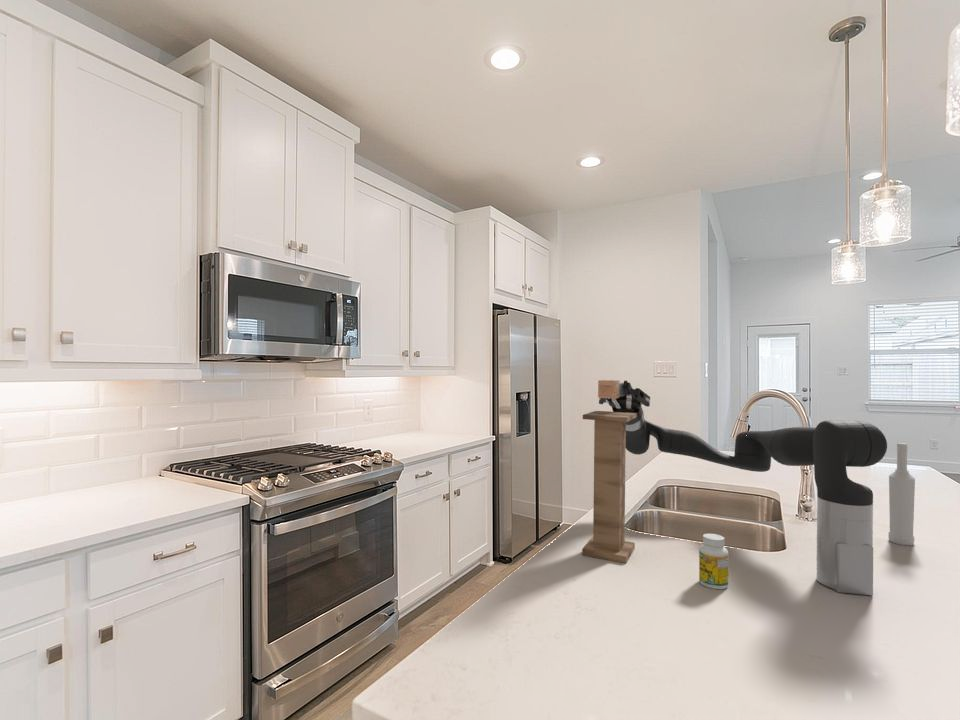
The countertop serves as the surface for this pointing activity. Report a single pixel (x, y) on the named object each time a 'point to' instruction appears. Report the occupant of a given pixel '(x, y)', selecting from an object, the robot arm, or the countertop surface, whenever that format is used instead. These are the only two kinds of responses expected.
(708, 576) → the supplement bottle
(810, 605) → the countertop surface
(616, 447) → the stand
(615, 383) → the orange and blue box
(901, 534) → the bottle
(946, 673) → the countertop surface
